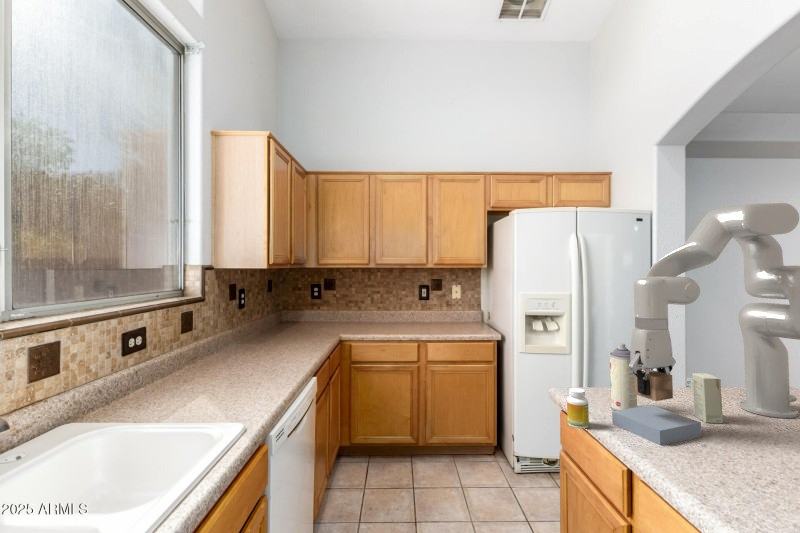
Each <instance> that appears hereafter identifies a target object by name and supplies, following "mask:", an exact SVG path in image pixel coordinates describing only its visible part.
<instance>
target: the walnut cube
mask: <svg viewBox="0 0 800 533" xmlns="http://www.w3.org/2000/svg"><path fill="white" fill-rule="evenodd" d="M642 372H643V373H644V370H642ZM634 375H635V374H634ZM647 380H650V395H644V394H641V393H639V392H638V385H637V378H636V377H635V395H637V396H639V397H642V398H645V399H647V400H650V401H655V402H660V401H665V400H671V399H673V398H674V390H673V389H674V388H673V387H674V386H673V384H674V383H673V374H671V375H669V374H665V373H661V372H657V370H654V369H650V372H649V376H648V379H647Z"/></svg>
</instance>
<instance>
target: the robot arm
mask: <svg viewBox="0 0 800 533" xmlns="http://www.w3.org/2000/svg"><path fill="white" fill-rule="evenodd" d="M799 222H800V214H799V212H798V210H797V208H796V207H795V206H793V205H792V204H789V203H787V202H771V203H770V202H769V203H748V204H739V205H734V206H726V207H720V208H716V209H712V210H710V211H709V212H707V213H706V214H705V215H704V216H703V218H702V219H701V220H700V221H699V223H698V224H697V225H696V227H695V229H694V230H693V231H692V233H691V234H690V236H689V237H688V238H687V240H686V241H685V242H684V244H682V245H680V246H679V247H678V248H676V249H674V250H672V251H671V252H669V253H668V254H666V255H664V256H662V257H661V258H659V259H658V260H657V261H656V262H655V263H654V264H652V266H651V267H650V268H649V270H648V271H647V272H646V273H645V275H644V276H643V277H640V278H636V279H635V280H634V282H633V301H634V302H633V303H634V328H633V329H632V334H631V339H630V349H629V351H630V361H631V362H630V364H629V368H630V369H631V370H632V371H633V373H634V374H635V377H636V378H637V385H638V392H639V393H641V394H644V395H650V380H647V379H648V376H649V372H650V370H654V369H656V371H657V372H661V373H665V374H669V375H672V374H671V372H672V370H673V367H674V366H675V364H676V362H677V361H676V359H675V358H674V357H673V345H672V338H671V334H670V330H669V329H670V328H669V306H668V305H677V306H679V305H680V306H685V305H690V304H693V303H694V302H695V301H697V300H698V299H699V296H700V295H701V288H700V286H699V284H698V283H697V281H696V280H694V279H692V278H690V277H686V276H679V275H682V274H685V273H686V272H690V271H693V270H696V269H699V268H703V267H705V266H708V265H711V264H713V263H714V262H716V260H718V258H719V257H720V255H721V253H722V252H723V251H724V249H725V248H726V247H727V245H728V244H729V243H730V241H731V240H732V239H733V240H735V241H736V243H737V244H738V245H739V246H740V249H741V250H742V253H743V280H744V281H743V283H744V289H745V291H746V293H747V294H748V295H749V296H751V297H754V298H759V299H769V300H771V299H772V300H773V299H774V300H788V303H789V304H786V303H785V304H783V303H776V302H775V303H771V302H770V303H769V302H751V303H748V304H745V305H744V306H742V307H741V308H740V309H739V311H738V313H737V314H738V315H737V316H738V317H737V318H738V323H739V326H740V330H741V335H742V339H743V340H742V341H743V353H744V354H743V356H744V358H743V359H744V360H743V362H744V383H745V384H744V385H745V387H744V388H745V399H743V400H740V401H739V402H738V403H739V405H738V406H739V407H740V408H741V409H743V410H745V411H746V412H750V413H753V414H757V415H761V416H765V417H769V418H770V417H771V418H779V419H793V418H796V417H798V416H799V411H798V410H797V409H796V408H794V407H792V406H791V403H793V402H796V401H797V400H798V398H797V396H796V395H794V394H791V393H790V391H791V390H790V367H789V366H790V364H789V352H788V349H787V348H786V346H785V345H786V344H784V343H783V341H782V340H781V339H789V340H796V341H797V340H798V341H800V265H785V264H784V258H783V254H784V253H783V249H782V245H781V244H780V243H779V242H778V241H777V239H776V238H775V237H773V236H774V235H785V234H788V233H791V232H792V231H794V230H795V229H797V226H798V224H799ZM642 371H644V373H643V372H642Z"/></svg>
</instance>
